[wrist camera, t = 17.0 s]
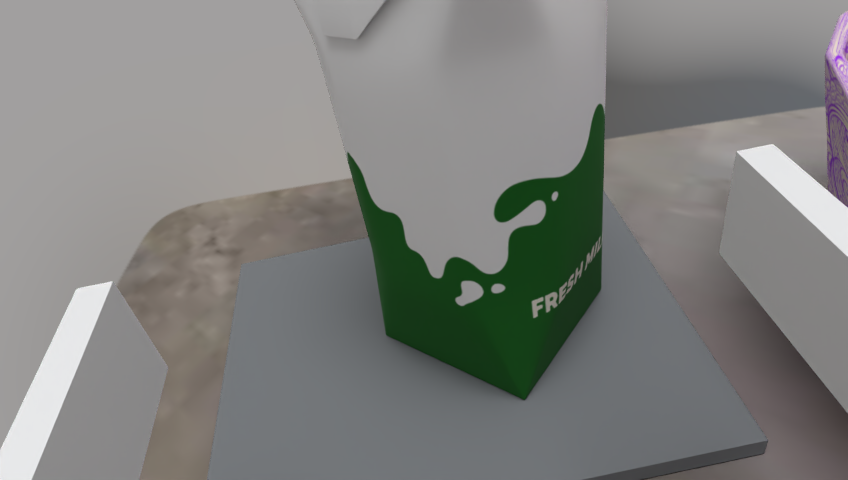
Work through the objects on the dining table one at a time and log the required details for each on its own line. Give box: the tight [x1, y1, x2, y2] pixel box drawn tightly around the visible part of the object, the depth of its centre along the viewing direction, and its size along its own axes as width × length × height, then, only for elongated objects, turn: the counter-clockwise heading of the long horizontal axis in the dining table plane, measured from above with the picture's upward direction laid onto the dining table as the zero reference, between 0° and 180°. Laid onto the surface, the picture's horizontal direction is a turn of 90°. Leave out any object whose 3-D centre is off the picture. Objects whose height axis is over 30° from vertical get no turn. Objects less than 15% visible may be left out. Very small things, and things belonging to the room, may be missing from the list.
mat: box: [207, 190, 768, 480], centre depth 28 cm, size 20×16×1 cm
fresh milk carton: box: [294, 0, 607, 400], centre depth 22 cm, size 9×9×20 cm
